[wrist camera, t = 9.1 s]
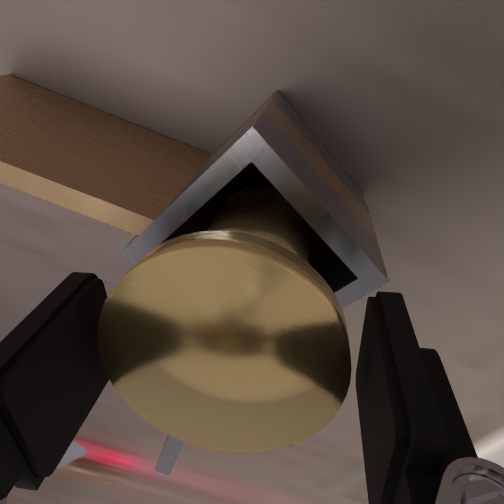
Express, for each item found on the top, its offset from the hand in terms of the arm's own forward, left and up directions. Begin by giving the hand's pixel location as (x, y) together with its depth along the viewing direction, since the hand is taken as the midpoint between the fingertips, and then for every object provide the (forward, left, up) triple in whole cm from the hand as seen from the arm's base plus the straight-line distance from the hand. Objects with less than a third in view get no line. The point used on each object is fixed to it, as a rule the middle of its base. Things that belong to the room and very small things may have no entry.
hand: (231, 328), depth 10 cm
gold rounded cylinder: (0, 0, -7) cm, 7 cm away
